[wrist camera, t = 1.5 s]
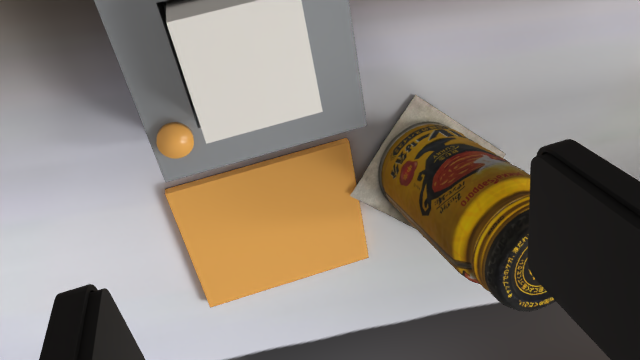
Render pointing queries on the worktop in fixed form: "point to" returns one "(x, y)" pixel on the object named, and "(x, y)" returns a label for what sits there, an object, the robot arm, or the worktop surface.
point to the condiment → (457, 201)
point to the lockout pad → (271, 221)
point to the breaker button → (244, 63)
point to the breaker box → (176, 104)
